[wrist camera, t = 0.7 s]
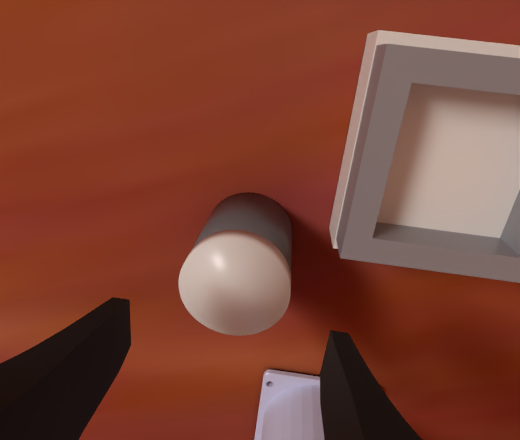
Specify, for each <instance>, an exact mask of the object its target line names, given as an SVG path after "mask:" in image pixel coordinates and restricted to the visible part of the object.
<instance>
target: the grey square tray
mask: <svg viewBox="0 0 520 440" xmlns="http://www.w3.org/2000/svg"><path fill="white" fill-rule="evenodd" d="M329 230H330V235H331V240H332V246H333V248H335V249H338V251H339V256H340V258H342V259H349V260H357V261H364V262H371V263H379V264H386V265H393V266H401V267H408V268H415V269H423V270H430V271H437V272H445V273H452V274H459V275H467V276H474V277H481V278H489V279H496V280H503V281H511V282H518V283H520V46H518V45H509V44H500V43H491V42H482V41H473V40H464V39H454V38H445V37H436V36H427V35H418V34H409V33H400V32H391V31H382V30H377V31H374V32H371V33H369V34H368V35H367V40H366V45H365V50H364V55H363V60H362V65H361V70H360V75H359V80H358V85H357V90H356V95H355V100H354V105H353V110H352V116H351V121H350V126H349V131H348V136H347V141H346V146H345V151H344V156H343V161H342V166H341V171H340V176H339V181H338V186H337V191H336V196H335V201H334V206H333V211H332V216H331V221H330V226H329Z"/></svg>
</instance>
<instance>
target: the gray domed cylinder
mask: <svg viewBox="0 0 520 440" xmlns="http://www.w3.org/2000/svg"><path fill="white" fill-rule="evenodd" d="M291 264H292V225H291V222H290V219H289V217H288V215H287V213H286V212H285V210H284V209H283V208H282V207H281V206H280V205H279V204H278V203H277V202H276V201H274V200H272V199H271V198H269V197H267V196H264V195H261V194H257V193H249V192H248V193H239V194H235V195H232V196H230V197H228V198H226V199H224V200H223V201H221V202H220V203H219V204H218V205H217V206H216V208H215V209H214V210H213V212H212V214H211V215H210V217H209V219H208V221H207V223H206V225H205V226H204V228H203V230H202V232H201V234H200V235H199V237H198V239H197V241H196V243H195V244H194V246H193V248H192V250H191V252H190V253H189V255H188V257H187V259H186V261H185V262H184V264H183V266H182V269H181V271H180V275H179V292H180V296H181V299H182V301H183V303H184V305H185V307H186V308H187V310H188V311H189V312H190V314H191V315H192V316H193V317H194V318H195V319H196V320H198V321H199V322H200V323H201V324H203V325H204V326H206V327H208V328H210V329H212V330H214V331H217V332H220V333H223V334H228V335H251V334H255V333H259V332H261V331H264V330H266V329H268V328H270V327H271V326H273V325H274V324H275V323H276V322H278V321H279V320H280V318H281V317H282V316H283V315H284V313H285V311H286V310H287V307H288V305H289V301H290V294H291Z"/></svg>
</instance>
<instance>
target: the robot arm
mask: <svg viewBox="0 0 520 440" xmlns="http://www.w3.org/2000/svg"><path fill="white" fill-rule="evenodd" d="M130 346H131V331H130V302H129V300H127V299H120V298H114V297H113V298H111V299H109V300H108V301H106V302H105V303H103V304H102V305H100V306H99V307H97V308H96V309H94V310H93V311H91V312H90V313H88V314H87V315H85V316H84V317H82V318H80V319H79V320H77V321H76V322H74V323H73V324H71V325H70V326H68V327H66V328H65V329H63V330H62V331H60V332H58V333H57V334H55V335H53V336H51V337H50V338H48V339H46V340H45V341H43V342H41V343H39V344H38V345H36V346H34V347H32V348H31V349H29V350H27V351H25V352H23V353H21V354H19V355H17V356H15V357H13V358H11V359H9V360H7V361H5V362H3V363H1V364H0V440H79V438H80V436H81V434H82V432H83V431H84V429H85V427H86V425H87V424H88V422H89V421H90V419H91V417H92V416H93V414H94V412H95V411H96V409H97V407H98V406H99V404H100V402H101V401H102V399H103V397H104V396H105V394H106V392H107V391H108V389H109V387H110V386H111V384H112V382H113V381H114V379H115V377H116V376H117V374H118V372H119V370H120V368H121V366H122V364H123V362H124V360H125V357H126V355H127V353H128V350H129V348H130ZM268 381H271V382H268ZM254 440H422V439H421V438H420V437H419V436H418V435H417V434H416V433H415V431H414V430H413V429H412V428H411V427H410V425H409V424H408V423H407V422H406V421H405V419H404V418H403V417H402V416H401V414H400V413H399V412H398V411H397V409H396V408H395V407H394V405H393V404H392V402H391V401H390V400H389V398H388V397H387V396H386V394H385V393H384V391H383V390H382V388H381V387H380V385H379V384H378V382H377V381H376V379H375V378H374V376H373V375H372V373H371V371H370V370H369V368H368V367H367V365H366V363H365V362H364V360H363V358H362V357H361V355H360V353H359V351H358V350H357V348H356V346H355V344H354V342H353V340H352V339H351V337H350V335H349V334H348V333H344V332H337V331H331V330H330V334H329V338H328V343H327V347H326V351H325V355H324V359H323V364H322V368H321V372H320V377H318V376H311V375H305V374H298V373H292V372H285V371H278V370H266V371H265V372H264V376H263V383H262V390H261V397H260V404H259V411H258V417H257V424H256V431H255V438H254Z"/></svg>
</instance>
